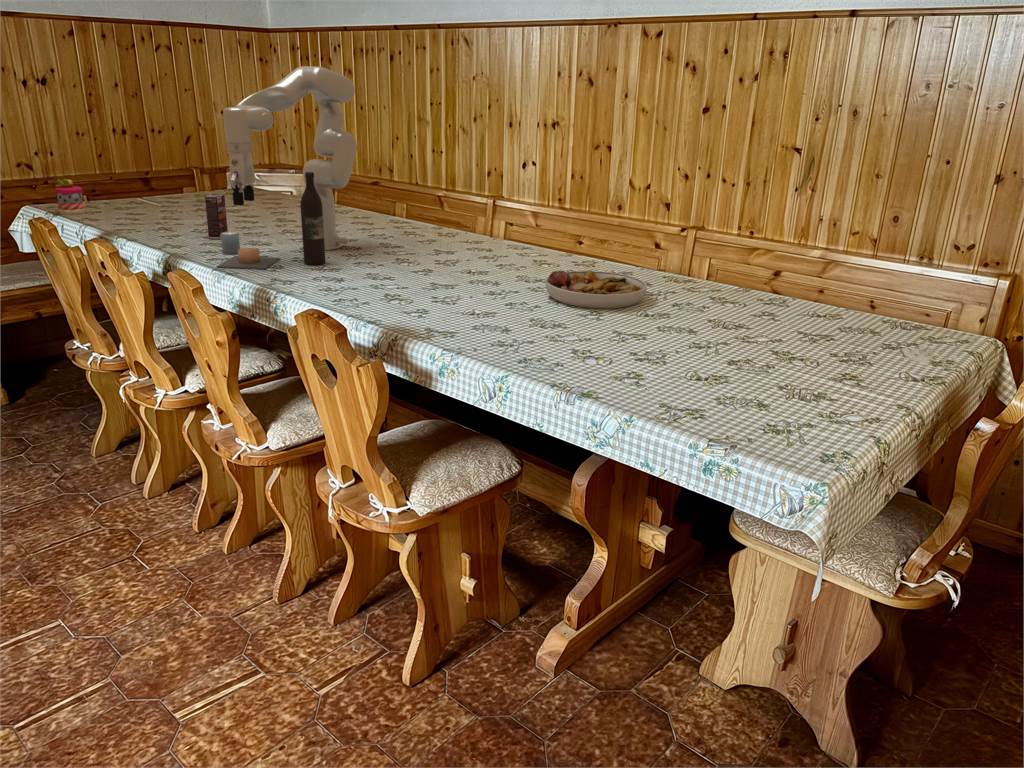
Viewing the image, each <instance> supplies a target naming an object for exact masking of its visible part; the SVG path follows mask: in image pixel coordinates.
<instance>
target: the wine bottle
mask: <svg viewBox="0 0 1024 768" xmlns="http://www.w3.org/2000/svg"><path fill="white" fill-rule="evenodd" d="M305 178H306V185H305V189H304V191H303V193H302V196H301V198H300V218H301V219H300V220H301V235H302V246H303V247H302V249H303V250H302V251H303V261H304V262H303V263H304V264H305V265H309V266H320V265H324V264H326V250H325V244H324V226H323V208H322V201H321V198H320V196H319V194H318V193H317V191H316V189H315V186H314V174H313V172H305Z"/></svg>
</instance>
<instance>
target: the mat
mask: <svg viewBox="0 0 1024 768" xmlns="http://www.w3.org/2000/svg"><path fill="white" fill-rule="evenodd" d="M259 258H260V262H258V263H253V264H243V263H239V255H234V256H232V257H230V258H228V259H227V260H225V261H223V262H221V263H220V264H217V265H216V269H234V270H235V269H241V270H260V271H261V270H263V271H264V270H267V269H269V268H270V267H272V266H273V265H275V264H276V263H278V262H279V261H280V260H282V258H281V257H271V256H267V257H266V256H259Z"/></svg>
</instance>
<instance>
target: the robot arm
mask: <svg viewBox="0 0 1024 768" xmlns="http://www.w3.org/2000/svg"><path fill="white" fill-rule="evenodd" d="M355 92H356V90H355V85H354V83H353V81H352V80H351V79H350V78H349V77H347V76H346V75H343V74H341V73H337V72H336V71H334V70H331V69H329V68H325V67H322V66H319V65H318V66H313V65H312V66H311V65H310V66H309V65H307V66H306V65H305V66H303V65H302V66H299V67H296V68H295V69H293V70H292V71H291V72H289V73H288V74H287V75H285V76H284V77H283V78H282V79H280V80H279V81H277V83H276V84H274V85H271V86H268V87H266V88H264V89H262V90H260V91H257V92H255V93H253V94H251V95H249V96H247V97H246V98H244V99H242V100H241V101H240V102H238V104H236V105H235V106H234V107H233V106H232V107H231V106H228V107H225V108H224V109H223V111H222V114H223V124H224V125H223V126H224V136H225V143H226V144H225V145H226V153H227V154H229V155H228V160H229V161H228V162H229V163H228V166H229V178H230V180H229V181H230V186H231V187H230V188H231V193H232V200H233V205H234V206H244V205H245V201H246V202H248V201H249V202H254V201H255V190H254V183H255V182H256V174H255V168H254V162H253V157H252V153H253V151H252V141H251V131H254V132H265V131H268V130H271V128H272V127H273V125H274V121H275V119H274V114H273V113H276V112H282V111H285V110H289V109H291V108H293V107H294V106H295V105H297V103H299V102H300V101H301V100H303V99H304V98H305V97H306V96H307V95H309V94H311V95H312V97H313V98H314V100H315V102H316V105H317V107H318V112H319V115H318V123H317V127H316V132H315V134H314V138H313V139H314V140H313V150H314V152H315V153H316V154H317V155H318V156H319V157H324V158H331V159H332V160H329V159H323V158H322V159H321V158H315V159H314V158H313V159H310V160H308V161H307V162H306V163H305V164H304V165H303V168H302V176H303V181H304V184H305V186H306V178H305V172H313V174H314V186H315V189H316V191H317V193H318V194H319V196H320V198H321V201H322V208H323V226H324V244H325V251H332V250H338V249H340V248H341V247H342V245H343V244H345V245H347V244H348V243H349V239H348V238H346V237H340V236H339V233H337V225H336V223H337V222H336V207H335V206H336V205H335V196H334V193H333V190H332V189H337V190H338V189H343V188H346V186H347V185H348V184H349V181H350V179H351V174H352V171H353V167H354V162H355V157H356V153H357V142H356V139H355V136H354V135H353V134H352V133H351V132H349V131H346V130H343V125H344V115H343V111H342V110H341V109H342V108H341V107H340V104H339V103H341V104H342V103H349V102H351V100H353V98H354V96H355Z"/></svg>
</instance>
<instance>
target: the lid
mask: <svg viewBox="0 0 1024 768" xmlns="http://www.w3.org/2000/svg"><path fill="white" fill-rule="evenodd" d="M259 250H260V249H259V248H258V247H257V248H256V247H243V248H240V249H239V250H238V255H237V256H239V263H243V264H253V263H258V262H260V258H259V257H260V251H259Z"/></svg>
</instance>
